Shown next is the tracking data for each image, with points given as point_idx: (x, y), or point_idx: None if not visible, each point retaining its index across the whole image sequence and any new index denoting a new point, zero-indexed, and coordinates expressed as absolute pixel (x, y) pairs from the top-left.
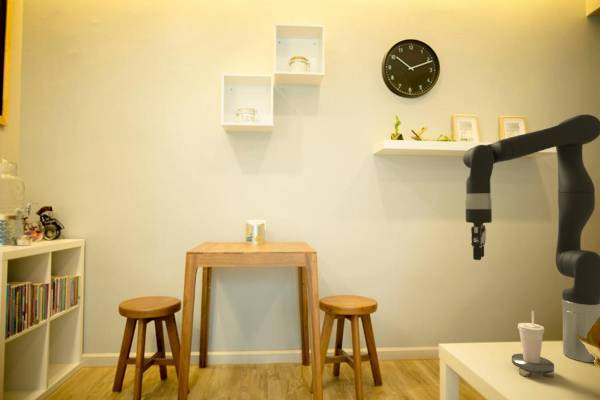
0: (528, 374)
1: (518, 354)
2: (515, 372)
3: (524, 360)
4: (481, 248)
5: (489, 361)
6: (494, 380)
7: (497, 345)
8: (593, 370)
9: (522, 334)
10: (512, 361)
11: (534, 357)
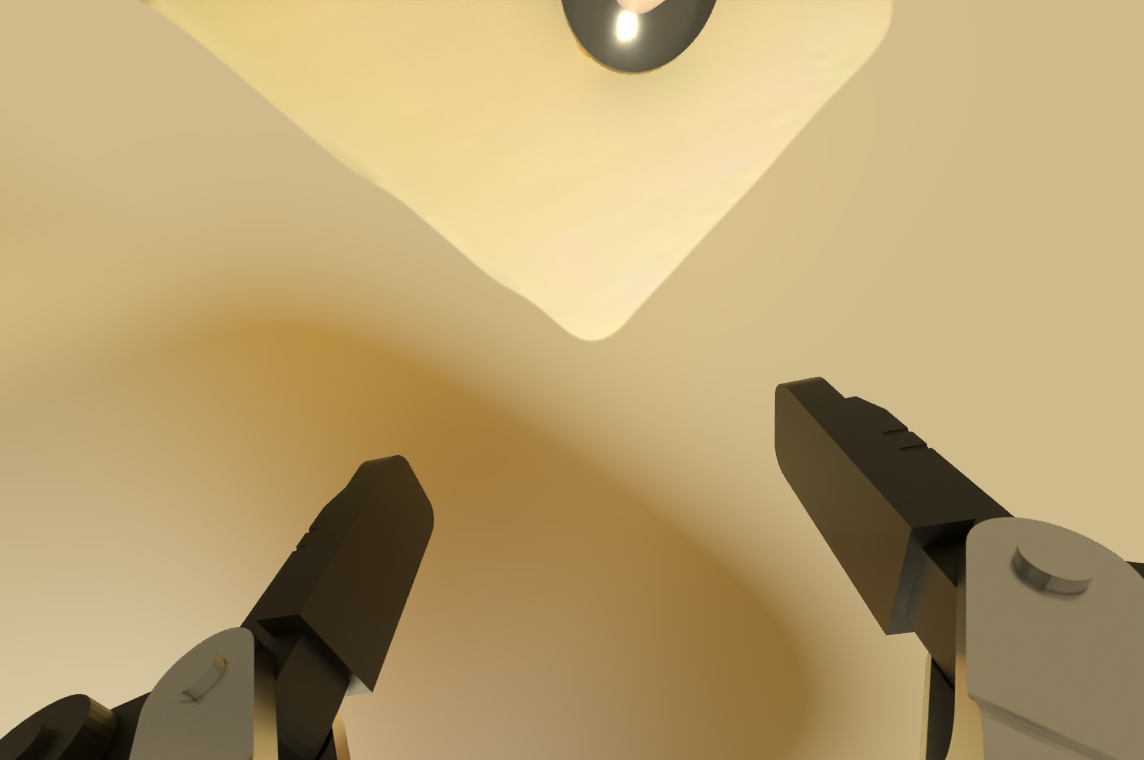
0: None
1: (604, 51)
2: None
3: (661, 3)
4: (355, 587)
5: (637, 168)
6: (802, 92)
7: (447, 202)
8: None
9: None
10: (672, 60)
11: None
